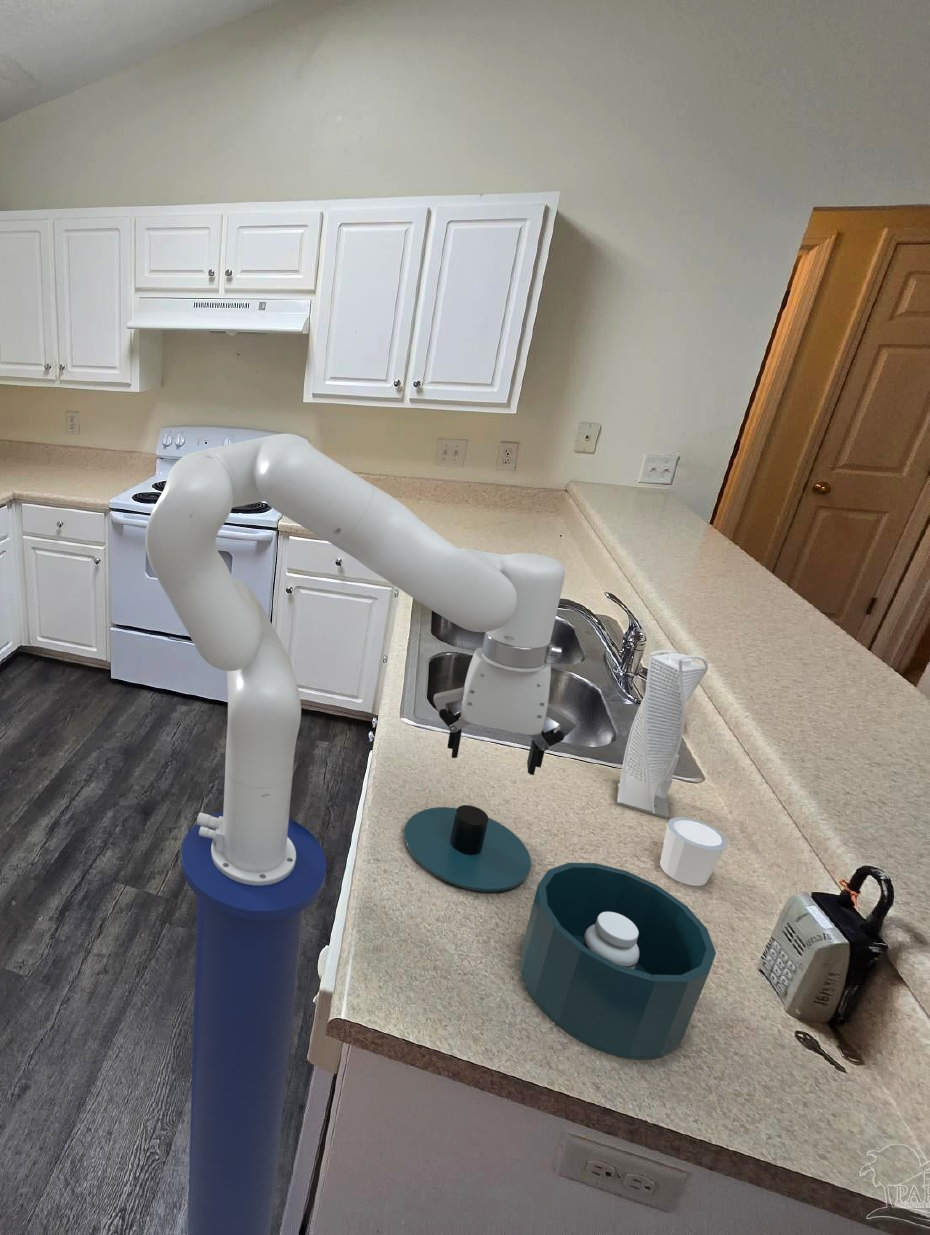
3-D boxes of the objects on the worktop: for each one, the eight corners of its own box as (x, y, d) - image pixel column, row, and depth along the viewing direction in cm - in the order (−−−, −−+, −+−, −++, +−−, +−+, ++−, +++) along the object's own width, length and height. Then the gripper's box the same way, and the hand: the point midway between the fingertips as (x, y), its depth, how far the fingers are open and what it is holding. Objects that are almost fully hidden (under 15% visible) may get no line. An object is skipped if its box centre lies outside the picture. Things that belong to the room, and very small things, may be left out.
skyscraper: (668, 824, 109) (722, 664, 98) (608, 806, 113) (654, 651, 102) (666, 795, 116) (716, 643, 105) (609, 780, 119) (652, 631, 109)
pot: (522, 1024, 77) (544, 948, 73) (517, 916, 91) (534, 847, 87) (701, 1084, 71) (735, 1005, 67) (665, 959, 85) (692, 887, 81)
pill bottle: (573, 959, 85) (591, 899, 81) (623, 979, 82) (645, 917, 79) (570, 993, 80) (590, 931, 77) (624, 1015, 78) (647, 951, 74)
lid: (397, 872, 99) (403, 835, 96) (409, 801, 114) (414, 767, 111) (532, 910, 92) (543, 872, 90) (526, 830, 107) (535, 795, 105)
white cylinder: (666, 884, 97) (680, 844, 94) (647, 851, 103) (659, 812, 101) (722, 893, 96) (738, 853, 93) (699, 859, 102) (713, 820, 99)
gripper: (587, 649, 89) (559, 761, 96) (445, 627, 96) (427, 733, 102) (594, 673, 83) (564, 792, 89) (441, 649, 89) (423, 761, 96)
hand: (491, 761), depth 96 cm, fingers open, 9 cm apart
